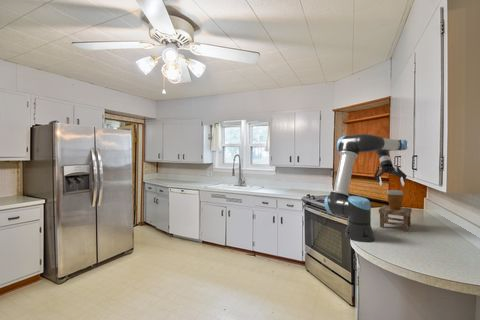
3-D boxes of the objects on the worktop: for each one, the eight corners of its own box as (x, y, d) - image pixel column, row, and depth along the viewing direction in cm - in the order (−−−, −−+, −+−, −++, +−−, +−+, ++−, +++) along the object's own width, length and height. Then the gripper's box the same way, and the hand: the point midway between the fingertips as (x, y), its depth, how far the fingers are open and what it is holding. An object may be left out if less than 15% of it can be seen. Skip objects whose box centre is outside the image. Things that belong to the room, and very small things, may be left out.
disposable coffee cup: (398, 207, 162) (398, 189, 162) (407, 210, 153) (406, 191, 152) (383, 207, 163) (383, 189, 163) (391, 210, 153) (391, 192, 153)
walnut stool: (378, 227, 157) (378, 209, 157) (384, 222, 169) (384, 205, 169) (408, 232, 147) (408, 212, 146) (411, 226, 158) (411, 208, 158)
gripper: (403, 166, 178) (411, 188, 163) (366, 166, 185) (371, 188, 171) (406, 159, 172) (414, 182, 158) (368, 159, 180) (373, 181, 166)
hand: (392, 185), depth 165 cm, fingers open, 13 cm apart
